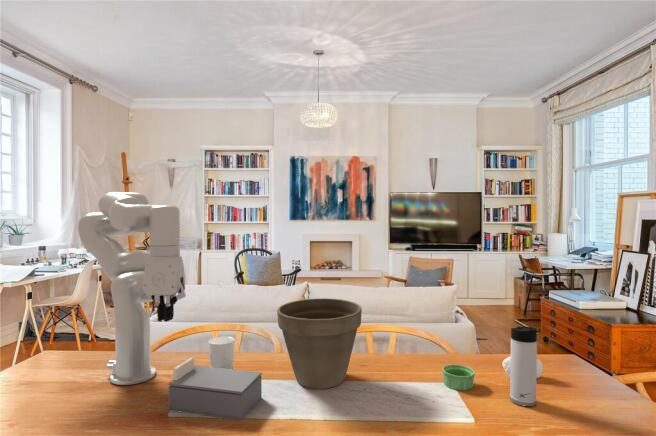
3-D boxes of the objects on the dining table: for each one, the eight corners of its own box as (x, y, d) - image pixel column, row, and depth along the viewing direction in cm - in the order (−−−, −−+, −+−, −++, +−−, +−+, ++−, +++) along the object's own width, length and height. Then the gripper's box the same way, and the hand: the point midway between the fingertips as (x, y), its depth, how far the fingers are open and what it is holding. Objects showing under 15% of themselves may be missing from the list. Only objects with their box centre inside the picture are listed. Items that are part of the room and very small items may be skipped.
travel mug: (526, 409, 105) (527, 331, 105) (504, 399, 111) (505, 325, 110) (542, 404, 108) (543, 328, 107) (520, 394, 114) (521, 322, 113)
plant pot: (281, 402, 109) (281, 320, 109) (274, 366, 133) (274, 299, 133) (372, 393, 114) (372, 315, 114) (349, 361, 138) (349, 296, 138)
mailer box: (168, 410, 105) (168, 386, 105) (195, 389, 116) (194, 368, 116) (241, 419, 100) (241, 395, 100) (261, 397, 112) (261, 375, 111)
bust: (540, 383, 126) (529, 346, 133) (551, 376, 120) (539, 338, 127) (501, 383, 126) (492, 346, 133) (510, 376, 120) (500, 338, 127)
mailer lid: (168, 385, 105) (168, 371, 105) (194, 367, 116) (194, 354, 116) (241, 394, 100) (241, 379, 100) (261, 374, 111) (261, 361, 111)
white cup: (228, 378, 125) (227, 345, 124) (203, 375, 126) (203, 343, 126) (238, 368, 132) (238, 336, 132) (216, 366, 134) (215, 335, 134)
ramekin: (439, 388, 118) (439, 373, 118) (445, 376, 126) (445, 362, 126) (472, 394, 114) (473, 378, 114) (476, 382, 122) (476, 367, 122)
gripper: (130, 252, 109) (131, 321, 109) (182, 254, 105) (183, 325, 106) (149, 249, 116) (149, 314, 117) (198, 251, 113) (199, 318, 113)
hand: (165, 319), depth 111 cm, fingers closed
